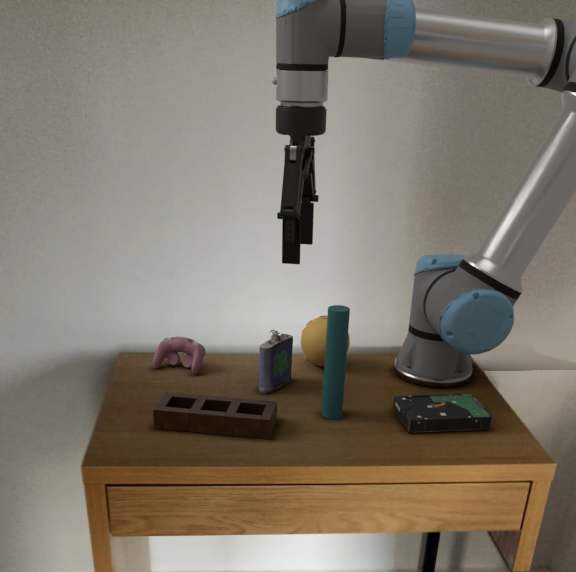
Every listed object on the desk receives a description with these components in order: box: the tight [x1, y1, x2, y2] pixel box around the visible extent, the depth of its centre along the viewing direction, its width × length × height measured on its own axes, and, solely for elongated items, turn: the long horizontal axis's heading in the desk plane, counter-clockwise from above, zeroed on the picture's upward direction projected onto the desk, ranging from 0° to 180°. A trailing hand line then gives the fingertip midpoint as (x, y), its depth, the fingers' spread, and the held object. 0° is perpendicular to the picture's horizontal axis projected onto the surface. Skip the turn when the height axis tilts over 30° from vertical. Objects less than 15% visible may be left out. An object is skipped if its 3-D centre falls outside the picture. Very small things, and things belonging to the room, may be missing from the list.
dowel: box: [321, 304, 351, 420], centre depth 127 cm, size 4×4×19 cm
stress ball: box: [300, 315, 351, 368], centre depth 150 cm, size 10×10×10 cm
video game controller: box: [152, 336, 206, 375], centre depth 148 cm, size 10×5×7 cm, turn 72°
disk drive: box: [392, 393, 493, 433], centre depth 131 cm, size 10×3×15 cm
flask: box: [258, 329, 294, 395], centre depth 140 cm, size 9×3×11 cm, turn 146°
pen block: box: [152, 391, 278, 440], centre depth 127 cm, size 20×8×4 cm, turn 82°
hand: (298, 253), depth 121 cm, fingers open, 13 cm apart
